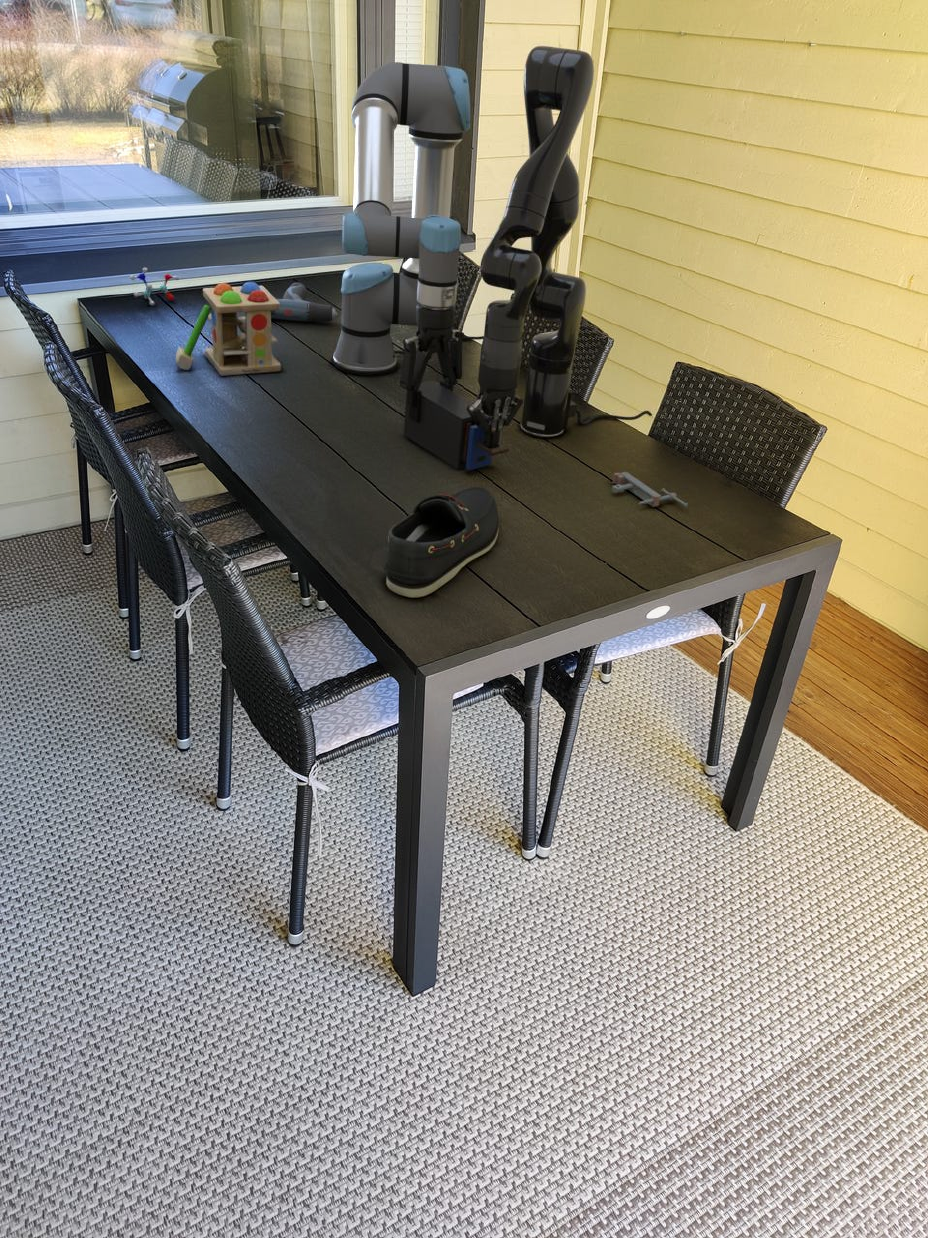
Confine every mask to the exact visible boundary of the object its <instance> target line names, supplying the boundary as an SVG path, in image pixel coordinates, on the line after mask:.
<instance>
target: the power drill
mask: <svg viewBox="0 0 928 1238" xmlns="http://www.w3.org/2000/svg"><path fill="white" fill-rule="evenodd" d="M307 295H308V290H307V287H306V285H304V284H303V283H301V282H293V283H292V284H291V285H290V286H289V287H288V288H287V289H286V291H285V292H284V294H283V297H282V298H275V299H276V300H277V301H278V302H279V303H280V310H271V319H274V320H275V319H276V320H283V321H294V322H295V321H297V322H332V321H333V320H334V319H336V318H337V317H338V312H337V311H336V308H334V307H333V306H332V305H331V304H324V303H317V302H313V301H307V300H305V299H306V297H307Z"/></svg>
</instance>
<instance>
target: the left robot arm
mask: <svg viewBox="0 0 928 1238" xmlns="http://www.w3.org/2000/svg"><path fill="white" fill-rule="evenodd" d="M351 122H352V125H353V127H354V129H355V151H354V175H353V176H354V178H353V179H354V181H353V207H352V209H353V210H352V212H346V213H344V214H343V216H342V237H341V238H342V241H341V242H342V243H341V245H342V250H343V251H344V252H345V253H346V254H350V255H357V256H363V257H366V256H368V257H385V258H386V257H387V258H388V257H389V258H398V259H407V260H406V261H405V262H404V263H402V267H401V269H402V270H401V272H394V268H393V266H392V265H391V264H388V263H382V262H364V263H358V264H355V265H352V266H351V267H348V268H346V269H345V271H344V272H343V274H342V281H341V287H340V293H341V319H340V321H341V324H340V325H341V326H340V329H341V330H340V336H339V338H338V341H337V343H336V344H335V347H334V349H335V350H334V352H333V354H332V355H333V361H332V362H333V363H332V364H333V366H334V367H335V368H337V369H338V370H339V371H342V372H344V373H347V374H352V375H356V376H380V375H381V376H382V375H386V374H389V373H391V372H393V371H395V369H396V368H397V361H398V359H397V354H398V355H402V362H401V371H400V379H399V387H401V388H403V389H404V390H406V391H407V390H408V400H407V403H408V405H410V408H409V419H411V420H413V421H415V422H416V423H419V422H420V413H421V395H422V391H420V390H419V387H420V384H421V383H422V380H423V377H424V375H425V373H426V368H427V366H428V363H429V361H430V360H432V356H433V355H434V354H435V353H436V355H437V358H438V359H437V360H438V363H439V367H440V371H441V376H442V379H443V380H440V381H439V384H440V385H442V386H444V387H446V388H447V389H449V390H451V391H453V392H454V386H456V385H457V384H458V381H459V380H461V379H462V378H463V341H464V340H472V341H473V340H478V341H479V340H483V338H484V335H481V336H480V335H479V336H466V335H465V333H464V332H463V331H461V330H459V329H457V328H453V327H454V325H455V319H456V308H455V307H456V302H457V296H458V288H459V279H458V272H459V262H460V249H461V245H462V236H461V234H462V233H461V231H462V227H461V224H460V222H459V221H458V220H455V219H453V218H450V215H451V203H452V202H451V201H452V191H453V190H452V189H453V173H454V159H455V158H454V157H455V148H456V147H457V145H459V144H460V143H461V142H462V140H463V132H467V131H470V129H471V96H470V84H469V78H468V74H467V73H466V71H464V70H463V69H461V68H458V67H453V66H447V65H435V64H419V63H418V64H417V63H407V62H401V61H395V62H388V63H385V64H383V65H381V66H379V67H377V68H376V69H374V70H373V71H371V72H370V73H369V74H368V75H367V76H366V78H364V80H363V81H362V82H361V84H360V85H359V87H358V88H357V90H356V93H355V94H354V97H353V101H352V105H351ZM398 125H399V126H405V127H406V126H407V127H408V137H409V138H410V139H411V141H412V142H413V143H414V158H413V159H414V160H413V178H412V179H413V180H412V181H413V183H412V200H411V201H412V202H411V217H409V216H399V215H392V206H393V205H392V204H393V202H392V200H393V150H394V149H393V147H394V146H393V143H394V141H393V140H394V132H395V130H396V129H397V127H398ZM391 325H397V326H414V327H417V329H416V331H415V334H414V336H412V337H410V338H408V337H403V340H402V344H403V349H404V350H395V347H394V343H393V341H392V337H391V336H392V335H391Z"/></svg>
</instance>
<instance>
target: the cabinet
mask: <svg viewBox="0 0 928 1238" xmlns="http://www.w3.org/2000/svg"><path fill="white" fill-rule="evenodd" d="M419 390H420V391H422V395H421V413H420V422H419V423H416V422H415V421H413V420H411V419H409V408H410V405H408V403H407V400H408V390H406V395H405V410H404V422H403V423H404V424H403V425H404V427H403V437H406V438H407V439H409V440H410V441H412V442H414V443H415V444H417V445H418V446H420V447H422V448H423V449H425V450H426V451H427V452H429V453H430V454H432V455H434V456H435V457H437V458H439V459H440V460H442V461H443V462H445V463H446V464H448V465H449V466H451V467H453V468H454V469H456V470H461V469H465V468H466V462H465V463H464V462H462V461H461V458H462V449H463V439H464V430H465V422H468V421H472V420H473V419H472V417H471V416H470V414H469V413H468V411H467V406H468V405H472V406H473V404H474V403H475V402H471V400H468V399H467V398H465V397H463V396H462V395H460V394H458V393H456V392H454V390H453V391H451V390H449V389H447V388H446V387H444V386H442V385H440V382H438V381H435V380H429V381H424V382H421V384H420V387H419Z"/></svg>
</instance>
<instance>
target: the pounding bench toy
mask: <svg viewBox="0 0 928 1238" xmlns="http://www.w3.org/2000/svg"><path fill="white" fill-rule="evenodd" d="M202 296H203V298H204V299H205V300H206V301H207V302H208V304H209V305H208V304H204V305H203V307H202V309H201V312H200V313H199V316H198V318H197V320H196V322H195V324H194V327H193V329H192V331H191V332H190V333H191V334H190V336H189V338H188V340H187V343H186V344H185V347H184V348H182V347H180V346H179V347H178V349H177V351H176V354H175V357H174V358H175V362H176V365H177V366H178V368H179V369H182V370H185V371H189V370H190V369H191V367H192V365H193V363H194V356H193V351H194V348H195V347H196V345H197V342H198V340H199V337H200V336H201V333H202V332H203V329H204V326H205V325H206V322H207V320H209V321H210V322H211V336H212V337H211V338H212V339H211V340H212V348H205V349H204V352H205V353H204V355H205V357H206V359H208V361H209V363H210V364H211V365H212V366H213V367H214V369H215V370H216V371H217V372H218V374H219V375H220V376H222V377H223V376H234V375H235V376H236V375H246V374H247V375H250V374H262V373H275V372H281V370H282V364H281V363H280V362H279V360H278V359H277V358H276V357H275V356H274V355H273V348H272V347H273V345H272V344H276V343H278V342H279V341H278V339H277V338H276V337H275V336H274V334H272V318H271V310H280V303H279V302H278V301H277V300H276V299H277V298H276V297H274V296H273V295H272V294H271V293H270V292H269V290H268V289H267V288H266V287H264V285H259V284H257V283H256V282H255V281H247V282H245V283H244V284H243V285H242V286H232V285H230V284H229V283H226V282H221V283H218V284H217V285H216V286H215V287H204V288H203V289H202ZM238 313H244V314H245V315H244V316H238ZM238 329H239V331H240V333H239V334H238Z"/></svg>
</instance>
